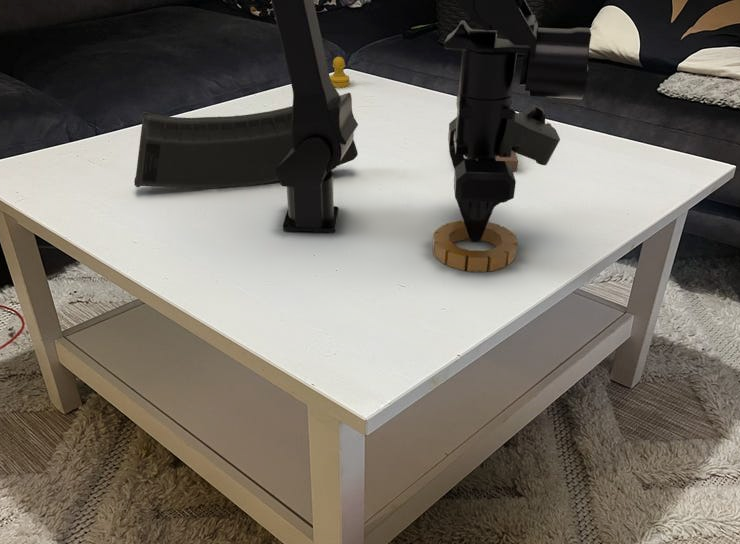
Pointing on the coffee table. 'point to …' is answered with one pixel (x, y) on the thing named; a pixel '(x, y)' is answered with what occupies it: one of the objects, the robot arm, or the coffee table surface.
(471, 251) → the ring
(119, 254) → the coffee table surface
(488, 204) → the robot arm
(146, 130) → the magazine
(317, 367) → the coffee table surface
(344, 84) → the chess piece
